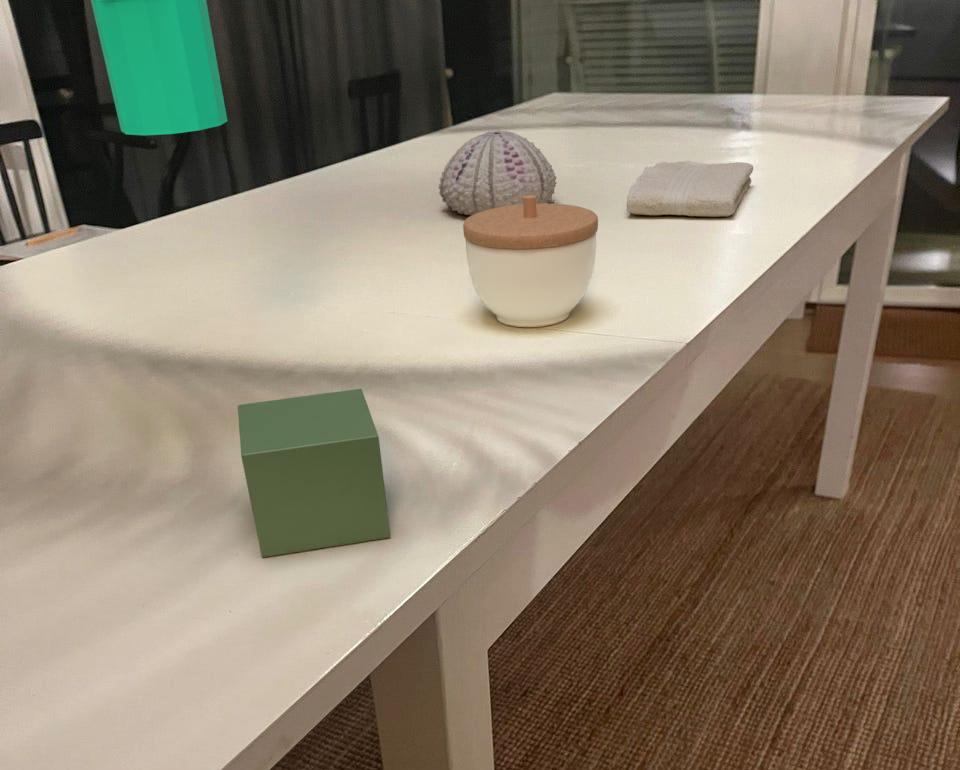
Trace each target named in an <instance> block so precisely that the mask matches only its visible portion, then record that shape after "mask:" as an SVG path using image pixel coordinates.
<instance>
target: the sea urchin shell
mask: <svg viewBox="0 0 960 770" xmlns="http://www.w3.org/2000/svg"><path fill="white" fill-rule="evenodd" d="M556 179H557V176H556V173H555V170H554V169H553V165H552V164H551V163H550V162H549V160H548V159H547V157H546V156H545V155H544V154H543V153H542V151H541V149H540V148H538V147H537V146H536V145H535V143H534V141H530V140H528V139H527V137H524V136H521V135H519V134H517V133H515V132H512V131H507V130H506V131H504V130H494V131H487V132H484V133H483V134H479V135H477V136H475V137H473V138H471V139H469V140H468V141H466V142H464V143H463V145H461V146H460V147H459V148H458V149H457V150H456V151H455V153H454V154H453V155H452V156H451V158H450V159H448V162H447V163H446V165H445V166H444V169H443V171H442V172H441V176H440V178H438V180H439V184H438V189H439V193H438V194H439V195H440V197H441V198H442V202H443V203H445V205H447V207H448V208H450V209H451V211H452V212H457V213H458V215H465V216H468V217H470V216H472V215H474V214H476V213H479V212H482V211H485V210H488V209H493V208H498V207H503V206H510V205H520V204H523V197H524V196H528V195H534V196H536V204H538V203H548V202H550V200H552V199H553V195H554V194H555V188H556V187H557V182H556Z"/></svg>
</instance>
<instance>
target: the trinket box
mask: <svg viewBox="0 0 960 770" xmlns="http://www.w3.org/2000/svg"><path fill="white" fill-rule="evenodd" d="M598 229H599V217H598V215H597V214H596V212H594V211H592V210H591V209H587V208H585V207H582V206H578V205H572V204H564V203H548V202H547V203H538V204H536V196H534V195H528V196H524V197H523V204H520V205H510V206H503V207H498V208H493V209H488V210H485V211H482V212H479V213H476V214H474V215H471V216H468V217H466V219H465V220H464V222H463V225H462V230H463V237H464V239H465V250H466V251H465V252H466V263H467V267H468V273H469V276H470V279H471V283H472V286H473V288H474V290H475V293H476V295H477V296H478V298H479V300H480V301H481V302H482V303H483V305H484V306H485V307H486V308H487V309H488V310H489V311H490V312H491V313H493V314H494V315H495V316H496V317H495V319H496V320H497V322H499V323H501V324H503V325H505V326H510V327H516V328H517V327H518V328H540V327H548V326H553V325H556V324H559V323H561V322H564V321H565V320H567V319H568V318H569V317H570V312H572V310H573V309H574V308H576V306H577V305H579V303H580V302H581V300H582V299H583V298H584V296H585V295H586V293H587V291H588V289H589V286H590V284H591V281H592V279H593V274H594V270H595V263H596V254H597V232H598Z"/></svg>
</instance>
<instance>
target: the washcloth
mask: <svg viewBox="0 0 960 770" xmlns="http://www.w3.org/2000/svg"><path fill="white" fill-rule="evenodd" d="M753 171H754V165H753V164H751V163H749V162H743V161H742V162H739V161H737V162H725V163H724V162H723V163H721V162H720V163H719V162H718V163H703V162H697V161H689V160H683V161H674V162H667V161H662V162H661V161H660V162H657V163H656V164H655V165H654V166H646V167H645V168H644V169H643V172H642V173H641V175H640V176H638V177H637V178H636V179H635V182H634V183H633V184H632V185H631V186H630V187H629V189H628V194H627V196H626V197H627V198H626V212H627V213H631V215H643V216H663V215H665V216H669V215H670V216H688V217H699V218H700V217H702V218H704V217H711V218H712V217H713V218H716V217H721V218H722V217H730V216H732V215H733V214H734V213H735V212H736V209H738V205H739V204H740V202H741V201H742V199H743V196H744V195H745V193H746V191H747V190H748V188H749V187H750V185H751V184H752V178H751V177H750V176H751V175H752V173H753Z"/></svg>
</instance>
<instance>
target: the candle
mask: <svg viewBox="0 0 960 770" xmlns="http://www.w3.org/2000/svg"><path fill="white" fill-rule="evenodd" d="M90 3H91V7H92V12H93V16H94V21H95V24H96V28H97V33H98V37H99V41H100V47H101V50H102V54H103V59H104V63H105V67H106V72H107V76H108V80H109V85H110V89H111V93H112V98H113V102H114V106H115V110H116V115H117V119H118V122H119V128H120V131H121V132H122V133H123V134H124V135H129V136H130V135H132V136H160V135H161V136H162V135H175V134H183V133H189V132H197V131H203V130H207V129H212V128H215V127H220V126H222V125H224V124H225V123H227V122H228V116H227V111H226V105H225V100H224V99H225V98H224V93H223V88H222V83H221V77H220V71H219V66H218V59H217V55H216V49H215V42H214V37H213V32H212V27H211V19H210V14H209V9H208V4H207V3H208V2H207V0H90Z"/></svg>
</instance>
